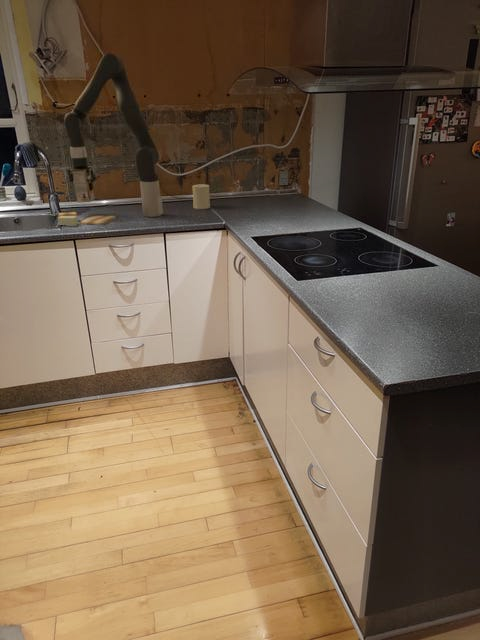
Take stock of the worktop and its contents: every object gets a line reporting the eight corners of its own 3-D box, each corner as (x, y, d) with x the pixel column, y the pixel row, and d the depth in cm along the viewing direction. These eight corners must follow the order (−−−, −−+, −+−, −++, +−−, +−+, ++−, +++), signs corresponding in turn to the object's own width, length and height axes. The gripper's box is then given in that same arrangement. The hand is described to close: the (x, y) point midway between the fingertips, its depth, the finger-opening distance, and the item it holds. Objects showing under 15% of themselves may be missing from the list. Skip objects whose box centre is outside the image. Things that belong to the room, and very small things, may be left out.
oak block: (77, 220, 242) (76, 212, 241) (76, 221, 239) (75, 213, 237) (60, 220, 241) (59, 212, 239) (59, 222, 238) (58, 214, 236)
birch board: (115, 218, 244) (115, 216, 243) (103, 225, 231) (103, 222, 231) (93, 217, 246) (93, 215, 246) (80, 224, 234) (79, 222, 233)
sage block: (78, 224, 234) (77, 216, 233) (75, 226, 231) (73, 218, 229) (62, 224, 235) (61, 215, 234) (58, 226, 232) (57, 217, 230)
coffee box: (82, 199, 253) (77, 167, 246) (94, 198, 252) (90, 166, 246) (77, 202, 244) (71, 169, 238) (89, 202, 244) (84, 169, 237)
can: (189, 207, 264) (188, 185, 259) (201, 204, 270) (200, 182, 265) (201, 209, 259) (200, 186, 253) (213, 206, 265) (212, 184, 260)
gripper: (95, 155, 241) (100, 189, 248) (69, 155, 244) (75, 189, 251) (88, 157, 235) (94, 192, 242) (61, 157, 237) (67, 191, 244)
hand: (84, 190), depth 246 cm, fingers closed on coffee box, 7 cm apart
